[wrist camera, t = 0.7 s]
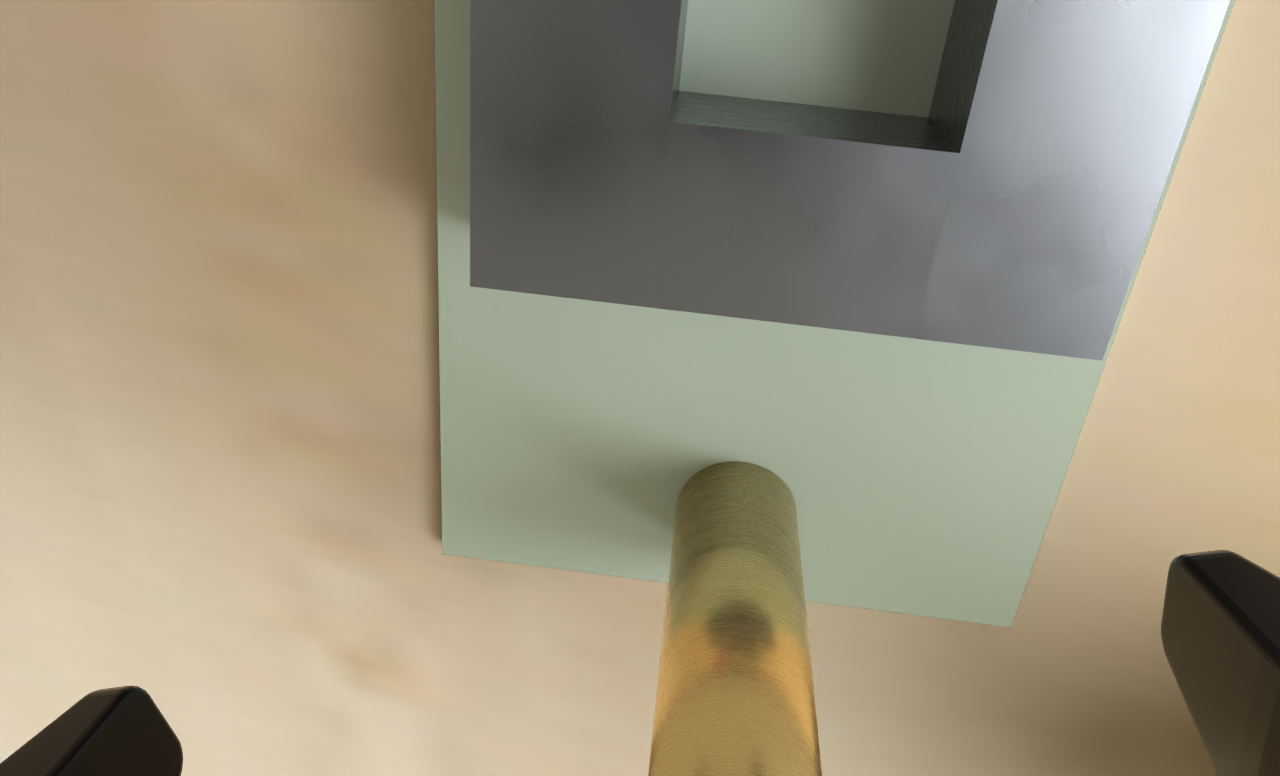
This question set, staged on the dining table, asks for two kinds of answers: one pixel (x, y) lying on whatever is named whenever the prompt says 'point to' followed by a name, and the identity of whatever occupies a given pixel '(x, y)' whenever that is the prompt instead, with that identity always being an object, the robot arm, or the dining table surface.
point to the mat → (750, 372)
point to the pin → (735, 634)
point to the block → (835, 172)
